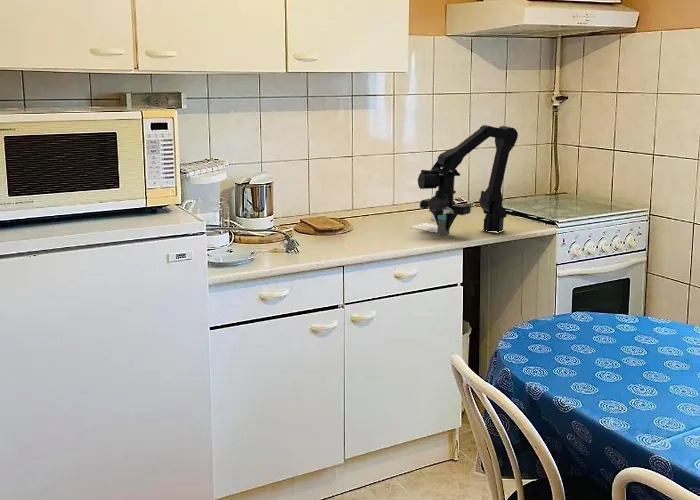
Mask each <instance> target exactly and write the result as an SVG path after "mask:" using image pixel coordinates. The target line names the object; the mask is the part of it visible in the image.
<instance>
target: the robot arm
mask: <svg viewBox="0 0 700 500" xmlns="http://www.w3.org/2000/svg"><path fill="white" fill-rule="evenodd" d="M518 136H519V133H518V131H517V129H516V128H514V127H510V126H506V125H500V126H499V127H494V126H491V125H486V124H482V125H481V126H480V127H479V129H477V130H476V131H474V132H473V133H472V134H470V135H469V136H468V137H467V138H465V139H464V140H463V141H461V142H460V143H459V144H457V146H454V147H452V148H450V149H447V150H445V151H444V152H442V153H440V154H439V155H438V157H437V160H436V161H435V163H434V164H433V166H432V167H431V169H428V170H427V169H421V170H420V174H418V177H417V185H418V187H419V189H420V190H426V189H427V190H429V189H431V190H432V189H437V190H436V191H435V196H434V197H432V198H431V197H430V198H426V199H422V200H420V203H419V208H420V209H426V210H427V209H429V210H428V211H429V212H430V213H431V212H432V213H433V215H434V217H435V219H436V221H435V222H436V225H437V226H438V215H440V214H443V211H444V209H446V210H449V213H446V216H447V224H446V230H447V231H448V230H449V231H450V230H451V229H450V228H451V226H452V225H453V223H454V221H455V220H456V218H457V216H465V215H466V216H467V215H468V214H471V211H472V209H471V206H470V205H467V204H457V205H455V204H456V203H455V202H456V201H454V195H455V194H456V193H457V192H456V190H455V177H460V176H461V173H460V172H459V171H458V170H457V168H458V167H459V166H460V165H461V164H462V162H463V160H464V158H465V157H466V156H468V154H470V153H471V152H472V151H473V150H475V149H476V148H477V147H479V146H480V145H481V144H482V143H484V142H485V141H486V140H488V139H489V138H494V144H495V153H494V158H493V164H492V167H491V172H490V176H489V181H488V186H487V188H486V189H485V190H481V191H480V198H479V199H478V201H479V206H480V208H481V209H482V211H483V214H485V216H484V218H483V226H482V227H483V229H482V230H484V231H486V230H487V231H497V232H499V231H502V230H504V221H505V218H507V216H508V211H507V210H506V209H505V208H504V207H503V193H502V187H503V181H504V177H505V174H506V168H507V164H508V159H509V155H510V153H511V151H512V150H513V148H514V146H515V144H516V142H517V140H518ZM448 207H449V208H448ZM484 231H483V232H484Z"/></svg>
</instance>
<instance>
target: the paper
mask: <svg viewBox="0 0 700 500" xmlns="http://www.w3.org/2000/svg"><path fill="white" fill-rule="evenodd" d="M409 228H410V229H414V230H419V231H424V232H428V231H429V232H430V233H433V232H435V234H437V229H438V226H437V224H432V223H426V222H423V223H419V224H415V225H412V226H409Z"/></svg>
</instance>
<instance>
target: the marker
mask: <svg viewBox="0 0 700 500" xmlns="http://www.w3.org/2000/svg"><path fill="white" fill-rule="evenodd" d="M446 224H447V216H446V214H440V215H438V229H437V233H436V234H440V235H439V236H442V235H446V236H448V235H447V234H449V235H450V229H449V230H448V231H447V230H446Z"/></svg>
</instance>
